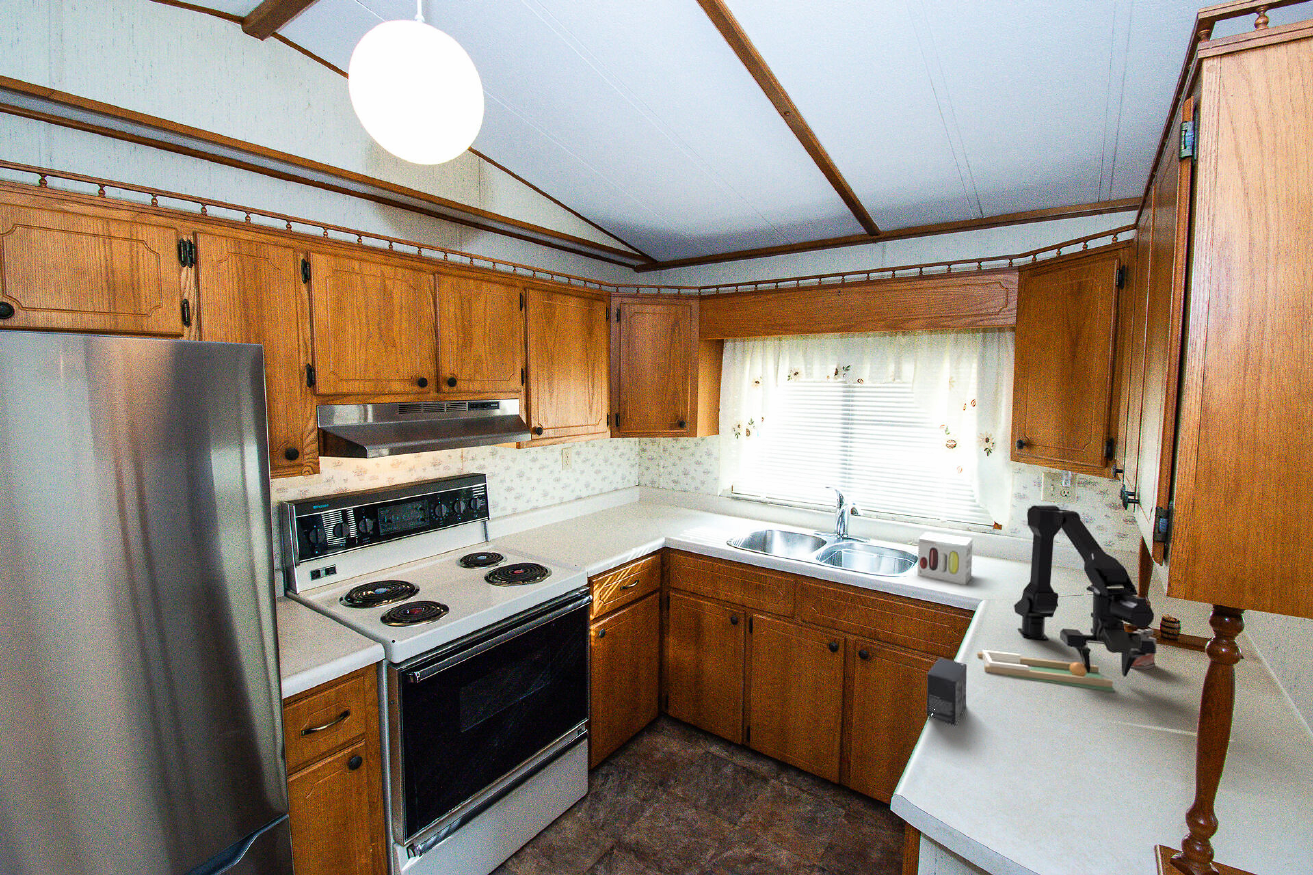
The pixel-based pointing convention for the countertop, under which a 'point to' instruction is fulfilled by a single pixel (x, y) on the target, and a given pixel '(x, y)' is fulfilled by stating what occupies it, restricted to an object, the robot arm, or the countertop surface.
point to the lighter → (1148, 659)
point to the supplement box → (945, 557)
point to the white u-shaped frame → (1003, 660)
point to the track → (1054, 673)
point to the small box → (946, 690)
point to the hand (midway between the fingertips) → (1106, 673)
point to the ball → (1078, 669)
